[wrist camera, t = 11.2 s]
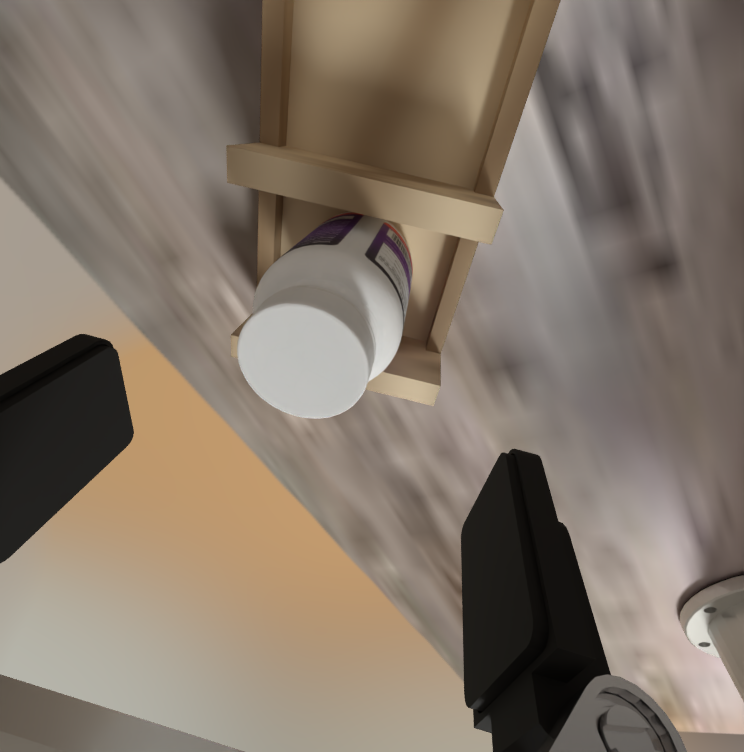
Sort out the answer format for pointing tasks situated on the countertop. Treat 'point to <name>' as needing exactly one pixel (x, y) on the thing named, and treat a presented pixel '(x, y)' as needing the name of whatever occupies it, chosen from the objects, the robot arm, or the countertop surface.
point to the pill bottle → (328, 316)
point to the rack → (392, 140)
